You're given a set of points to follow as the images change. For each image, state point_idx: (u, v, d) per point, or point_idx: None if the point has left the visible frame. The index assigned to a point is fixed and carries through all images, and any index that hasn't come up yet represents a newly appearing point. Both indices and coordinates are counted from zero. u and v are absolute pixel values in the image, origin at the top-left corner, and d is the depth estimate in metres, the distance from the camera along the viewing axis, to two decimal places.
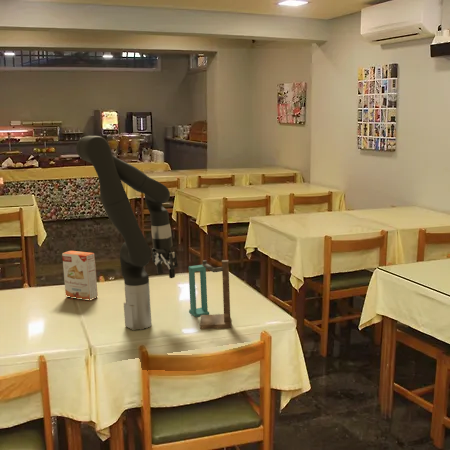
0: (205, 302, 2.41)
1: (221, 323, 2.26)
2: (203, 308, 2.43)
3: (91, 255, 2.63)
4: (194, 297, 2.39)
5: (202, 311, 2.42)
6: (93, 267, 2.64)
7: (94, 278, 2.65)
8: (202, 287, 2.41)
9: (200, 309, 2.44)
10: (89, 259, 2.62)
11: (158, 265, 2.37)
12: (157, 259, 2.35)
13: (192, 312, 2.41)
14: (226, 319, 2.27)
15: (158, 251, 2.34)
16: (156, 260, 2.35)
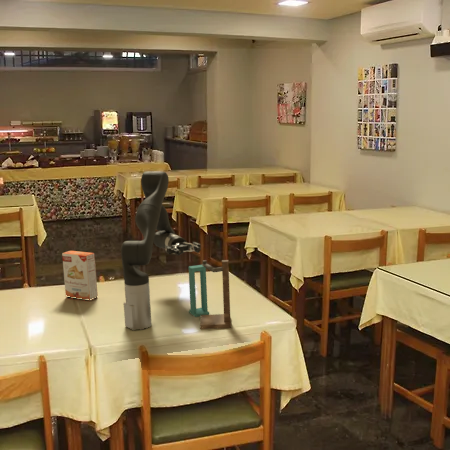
0: (205, 302, 2.41)
1: (221, 323, 2.26)
2: (203, 308, 2.43)
3: (91, 255, 2.63)
4: (194, 297, 2.39)
5: (202, 311, 2.42)
6: (93, 267, 2.64)
7: (94, 278, 2.65)
8: (202, 287, 2.41)
9: (200, 309, 2.44)
10: (89, 259, 2.62)
11: None
12: (177, 245, 2.51)
13: (192, 312, 2.41)
14: (226, 319, 2.27)
15: None
16: (176, 245, 2.51)
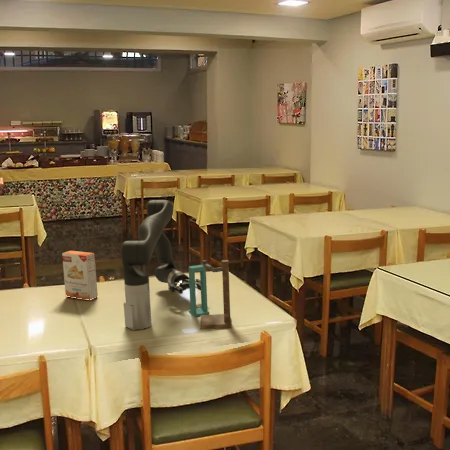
0: (205, 302, 2.41)
1: (221, 323, 2.26)
2: (203, 308, 2.43)
3: (91, 255, 2.63)
4: (194, 297, 2.39)
5: (202, 311, 2.42)
6: (93, 267, 2.64)
7: (94, 278, 2.65)
8: (202, 287, 2.41)
9: (200, 309, 2.44)
10: (89, 259, 2.62)
11: None
12: (180, 282, 2.53)
13: (192, 312, 2.41)
14: (226, 319, 2.27)
15: (179, 282, 2.56)
16: (179, 283, 2.52)
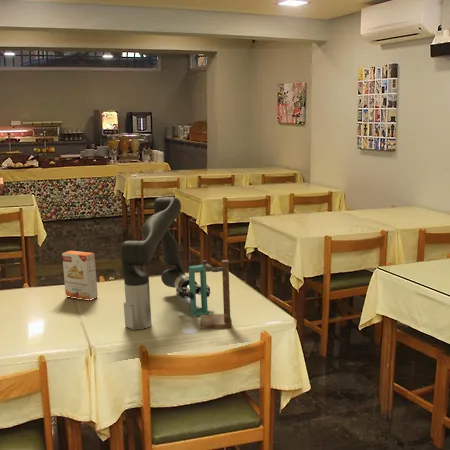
0: (205, 302, 2.41)
1: (221, 323, 2.26)
2: (203, 308, 2.43)
3: (91, 255, 2.63)
4: (194, 297, 2.39)
5: (202, 311, 2.42)
6: (93, 267, 2.64)
7: (94, 278, 2.65)
8: (202, 287, 2.41)
9: (200, 309, 2.44)
10: (89, 259, 2.62)
11: None
12: (189, 287, 2.44)
13: (192, 312, 2.41)
14: (226, 319, 2.27)
15: (187, 287, 2.48)
16: (188, 288, 2.44)
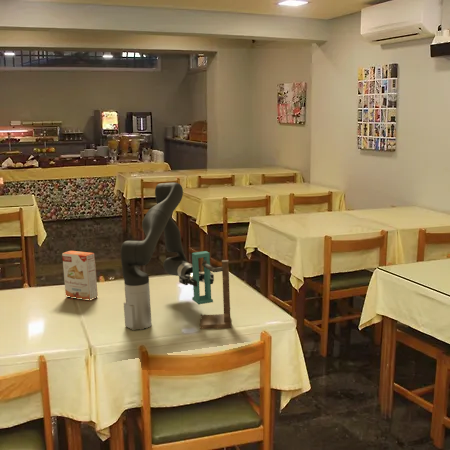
0: (209, 289, 2.36)
1: (221, 323, 2.26)
2: (207, 295, 2.37)
3: (91, 255, 2.63)
4: (197, 284, 2.34)
5: (206, 299, 2.36)
6: (93, 267, 2.64)
7: (94, 278, 2.65)
8: (206, 274, 2.36)
9: (203, 297, 2.39)
10: (89, 259, 2.62)
11: None
12: None
13: (195, 299, 2.36)
14: (226, 319, 2.27)
15: (190, 274, 2.42)
16: (192, 275, 2.38)
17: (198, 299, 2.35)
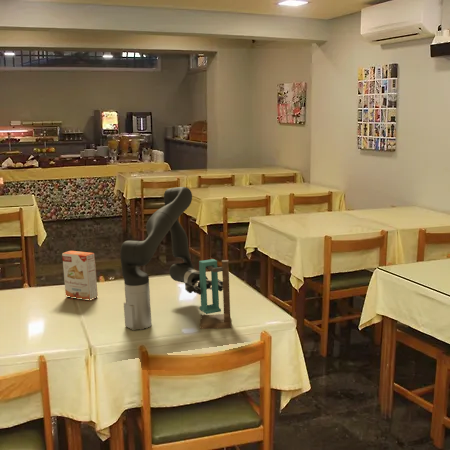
0: (216, 298, 2.29)
1: (221, 323, 2.26)
2: (214, 305, 2.31)
3: (91, 255, 2.63)
4: (205, 293, 2.27)
5: (213, 308, 2.30)
6: (93, 267, 2.64)
7: (94, 278, 2.65)
8: (213, 283, 2.30)
9: (211, 306, 2.33)
10: (89, 259, 2.62)
11: None
12: (198, 282, 2.33)
13: (203, 309, 2.29)
14: (226, 319, 2.27)
15: (197, 282, 2.36)
16: (197, 283, 2.32)
17: (206, 308, 2.28)
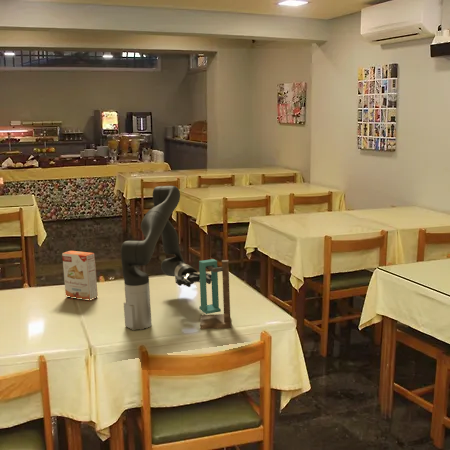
0: (216, 298, 2.29)
1: (221, 323, 2.26)
2: (214, 305, 2.31)
3: (91, 255, 2.63)
4: (205, 293, 2.27)
5: (213, 308, 2.30)
6: (93, 267, 2.64)
7: (94, 278, 2.65)
8: (213, 283, 2.30)
9: (211, 306, 2.33)
10: (89, 259, 2.62)
11: None
12: (188, 275, 2.43)
13: (203, 309, 2.29)
14: (226, 319, 2.27)
15: (186, 275, 2.46)
16: (186, 276, 2.42)
17: (205, 308, 2.28)
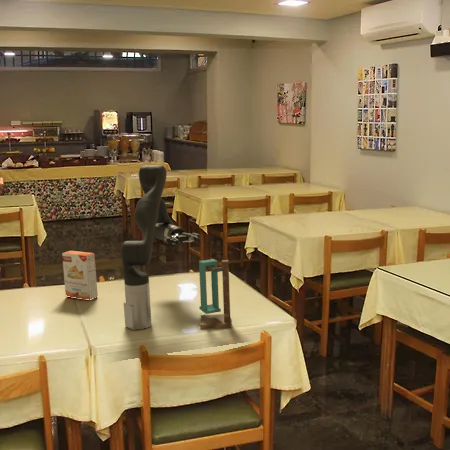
0: (216, 298, 2.29)
1: (221, 323, 2.26)
2: (214, 305, 2.31)
3: (91, 255, 2.63)
4: (205, 293, 2.27)
5: (213, 308, 2.30)
6: (93, 267, 2.64)
7: (94, 278, 2.65)
8: (213, 283, 2.30)
9: (211, 306, 2.33)
10: (89, 259, 2.62)
11: None
12: (177, 235, 2.51)
13: (203, 309, 2.29)
14: (226, 319, 2.27)
15: (175, 235, 2.54)
16: (175, 235, 2.50)
17: (205, 308, 2.28)
